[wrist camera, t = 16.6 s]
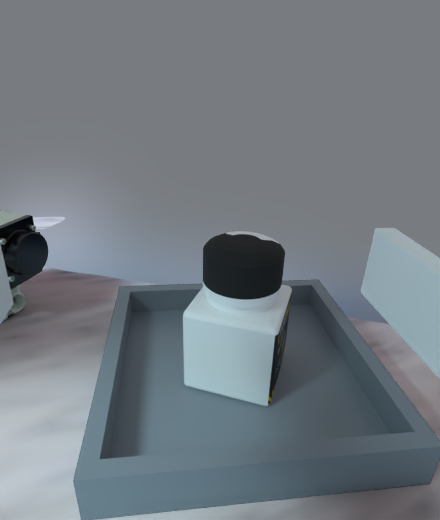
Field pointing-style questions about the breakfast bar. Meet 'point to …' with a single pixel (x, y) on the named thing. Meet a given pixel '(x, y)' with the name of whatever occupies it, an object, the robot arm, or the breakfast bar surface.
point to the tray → (243, 416)
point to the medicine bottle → (238, 319)
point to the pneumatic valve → (21, 253)
